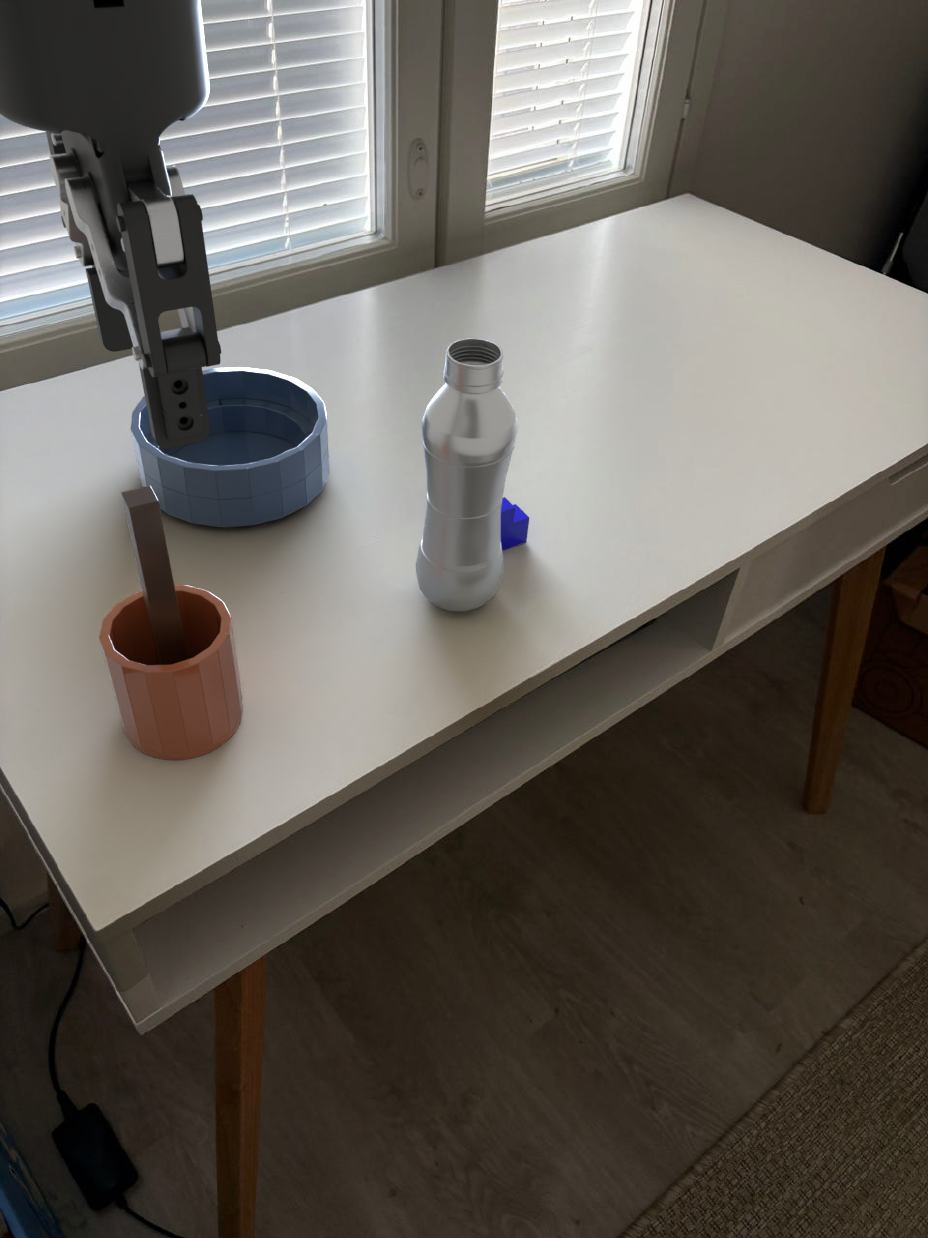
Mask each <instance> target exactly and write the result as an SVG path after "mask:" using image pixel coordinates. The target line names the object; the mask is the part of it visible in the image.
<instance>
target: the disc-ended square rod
mask: <svg viewBox="0 0 928 1238" xmlns="http://www.w3.org/2000/svg"><path fill="white" fill-rule="evenodd" d="M120 494H121V499H122V504H123V508H124V513H125V517H126V523H127V526H128V527H127V528H128V531H129V536H130V541H131V546H132V550H133V555H134V558H135V564H136V569H137V572H138V577H139V582H140V586H141V591H142V592H143V596H144V601H145V605H146V610H147V615H148V619H149V624H150V629H151V633H152V638H153V642H154V647H155V652H156V656H157V661H158V665H171V664H175V663H178V662H181V661H184V660H188V655H187V650H186V645H185V639H184V634H183V629H182V623H181V618H180V612H179V607H178V602H177V596H176V591H175V586H174V585H175V581H174V580H175V579H174V576H173V570H172V565H171V558H170V554H169V549H168V544H167V543H168V542H167V539H166V533H165V527H164V521H163V515H162V512H161V511H162V510H161V509H160V505H159V501H158V499H157V497H156V495H155V493H154V491H153V489H152V487H151V486H146V487H143V486H141V487H138V488H133V489H130V490H125V491H122V492H121V493H120Z"/></svg>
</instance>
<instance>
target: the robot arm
mask: <svg viewBox="0 0 928 1238" xmlns="http://www.w3.org/2000/svg"><path fill="white" fill-rule="evenodd" d="M201 2H202V1H201V0H0V115H1V116H2V117H4V118H6V119H7V120H9V121H11V122H12V123H15V124H18V125H20V126H23V127H26V128H28V129H32V130H35V131H36V130H37V131H41V132H45V135H46V139H47V143H48V148H49V153H50V154H49V165H50V172H51V176H52V178H53V181H54V184H55V187H56V190H57V193H58V196H59V208H60V210H59V211H60V214H61V215H60V219H61V222H62V226H63V228H65V229H66V232H67V234H68V238H69V240H70V241H71V242H73V243H74V244H75V246H73V251H74V255H75V258H76V260H78V259H79V260H78V261H79V262H80V264H81V266H82V268H85V274H86V278H87V283H88V288H89V292H90V297H91V303H92V307H93V311H94V316H95V322H96V326H97V331H98V336H99V339H100V341H101V343H102V345H103V347H104V348H105V349H106V350H107V351H109V352H113V353H114V352H120V351H127V350H131V351H132V355H133V358H134V360H135V361H136V362H138V367H139V371H140V372H139V373H140V378H141V383H142V389H143V394H144V396H145V400H146V406H147V411H148V416H149V422H150V427H151V433H152V435H153V437H154V439H155V441H156V443H157V444H158V446H159V447H161V448H163V449H172V448H177V447H181V446H186V445H190V444H195V443H199V442H202V441H204V440H206V439H207V438H208V436H209V434H210V423H209V416H208V409H207V401H206V394H205V387H204V380H203V372H202V371H203V368H205V367H206V368H209V367H214V366H219V365H220V364H221V354H222V348H221V347H222V346H221V343H220V341H219V337H218V330H217V322H216V316H215V315H216V314H215V308H214V301H213V295H212V287H211V280H210V279H211V278H210V272H209V264H208V258H207V251H206V243H205V235H204V229H203V222H202V221H203V220H204V216H203V211H202V207H201V206H200V204H199V203H198V201H197V199H196V196H195V195H194V194H193V193H189V194H186V193H185V188H184V185H183V182H182V178H181V175H180V172H179V169H178V168H177V166H176V165H170V166H169V165H167V166H166V161H165V157H164V152H163V150H162V148H161V145H160V142H161V138H160V137H161V135H162V134H163V133H164V131H165V130H167V129H168V128H169V127H170V126H171V125H173V124H174V123H176V122H178V121H181V122H184V121H186V120H187V119H190V118H192V117H193V116H195V115H196V114H197V113H198V112H199V111H200V110H202V109H203V108H204V106H205V105H206V103H207V101H208V99H209V95H210V92H211V91H210V90H211V86H210V78H209V77H210V76H209V67H208V58H207V50H206V49H207V48H206V40H205V30H204V21H203V13H202V12H203V11H202V4H201ZM90 266H91V267H90ZM175 310H177V315H178V317H179V321H180V325H181V327H180V328H173V329H169V330H163V331H161V328H160V322H159V318H160V316H161V315H162V314H163V313H165V312H170V311H175Z"/></svg>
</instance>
